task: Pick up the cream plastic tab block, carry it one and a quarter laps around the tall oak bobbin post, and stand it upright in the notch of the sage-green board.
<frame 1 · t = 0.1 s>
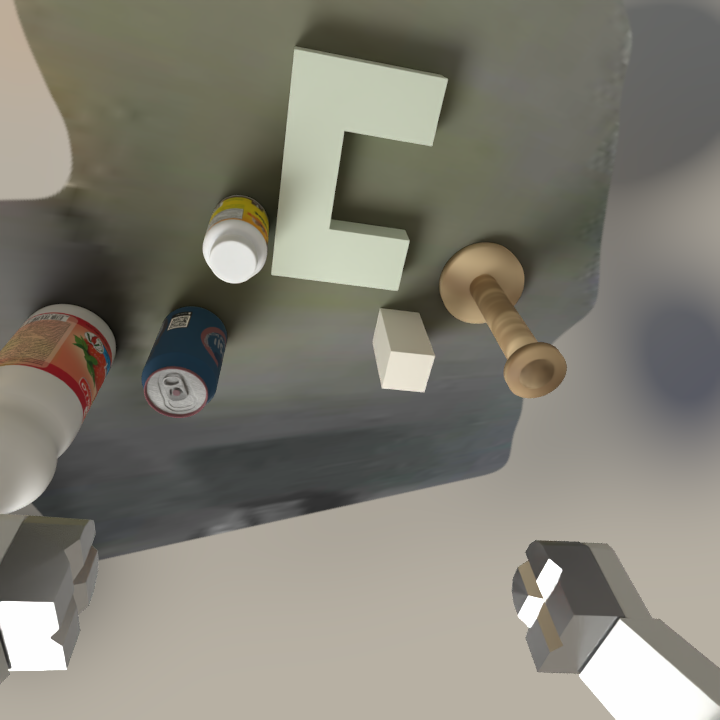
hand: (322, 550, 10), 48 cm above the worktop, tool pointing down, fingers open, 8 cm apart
fruit juice: (73, 338, 61), on the worktop
tab block: (395, 327, 64), on the worktop
soda can: (196, 328, 62), on the worktop
notched board: (350, 176, 54), on the worktop
bobbin post: (479, 281, 61), on the worktop
supplement bottle: (241, 219, 56), on the worktop
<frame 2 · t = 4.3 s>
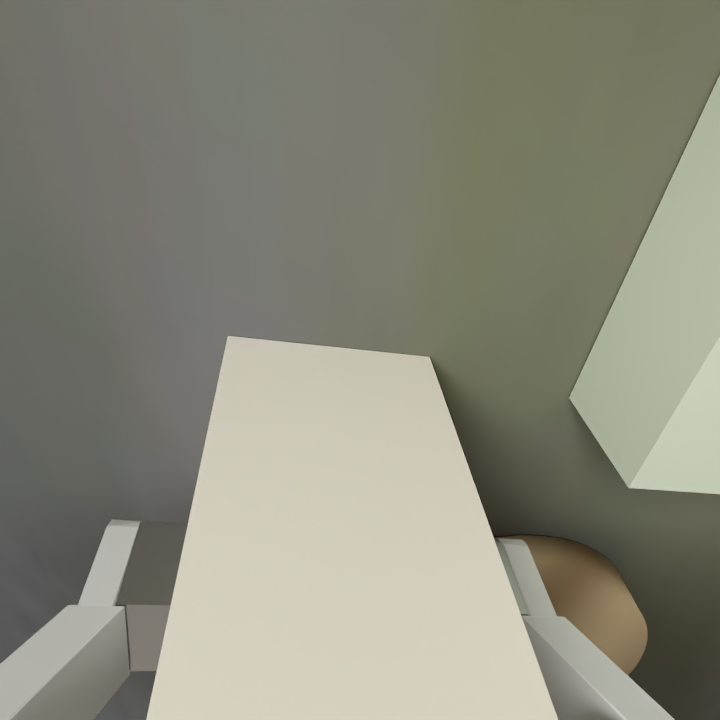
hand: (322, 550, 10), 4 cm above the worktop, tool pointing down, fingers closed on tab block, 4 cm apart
tab block: (318, 425, 14), on the worktop, touching gripper
bobbin post: (491, 624, 19), on the worktop
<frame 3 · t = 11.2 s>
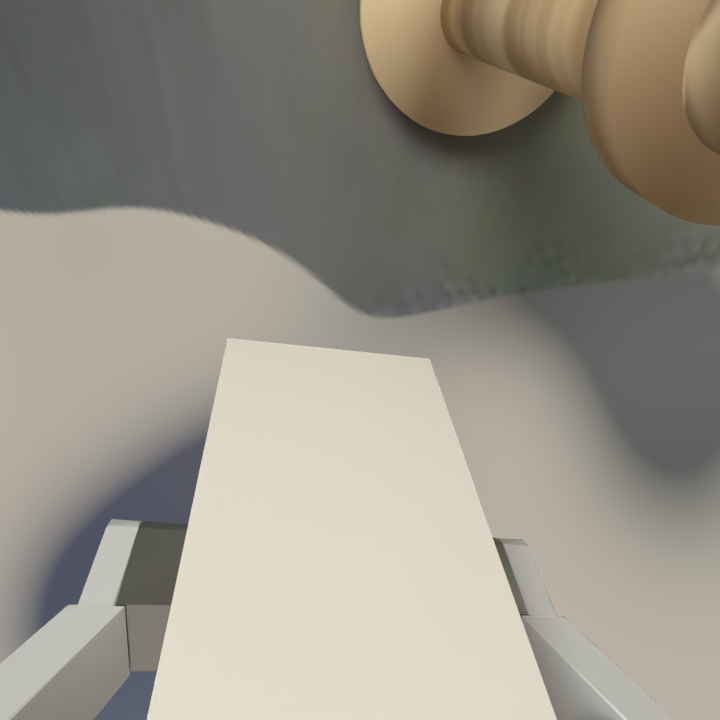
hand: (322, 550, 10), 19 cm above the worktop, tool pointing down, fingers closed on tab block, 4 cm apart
tab block: (317, 427, 14), point 16 cm above the worktop, touching gripper
bobbin post: (469, 10, 23), on the worktop
when the fingers open (5 cm above the worktop, at t = 18.3 s): tab block drops 2 cm, on the worktop.
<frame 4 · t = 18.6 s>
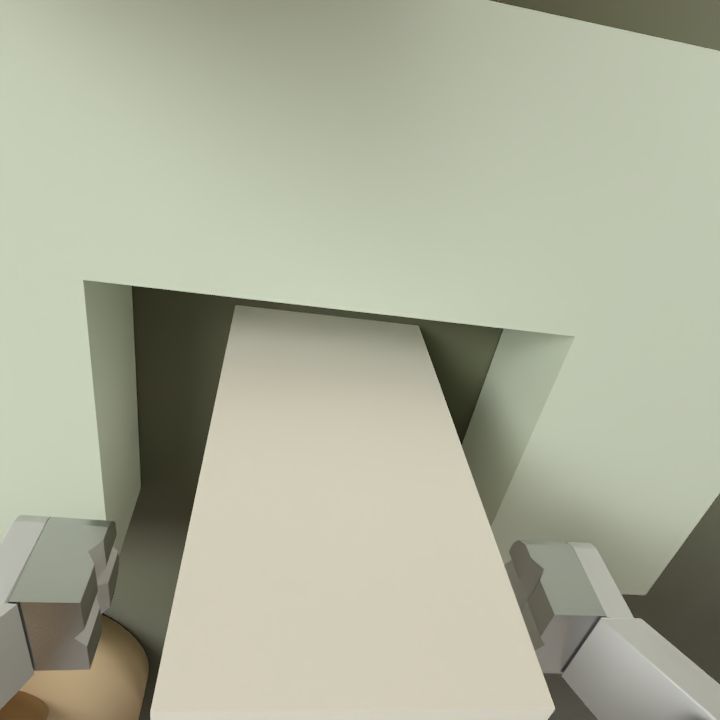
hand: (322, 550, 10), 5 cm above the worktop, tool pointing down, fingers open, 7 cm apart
tab block: (317, 389, 15), on the worktop
notched board: (328, 306, 13), on the worktop
bobbin post: (19, 666, 20), on the worktop
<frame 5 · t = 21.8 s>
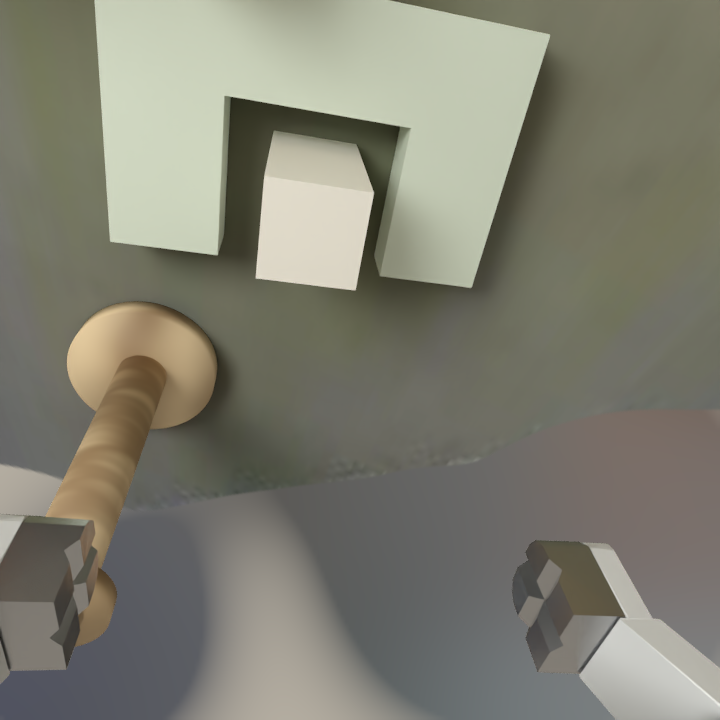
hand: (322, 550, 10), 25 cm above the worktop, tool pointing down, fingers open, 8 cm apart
tab block: (310, 178, 31), on the worktop
notched board: (315, 132, 30), on the worktop
bobbin post: (147, 362, 37), on the worktop
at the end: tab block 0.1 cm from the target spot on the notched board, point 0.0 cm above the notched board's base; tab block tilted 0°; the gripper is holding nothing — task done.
